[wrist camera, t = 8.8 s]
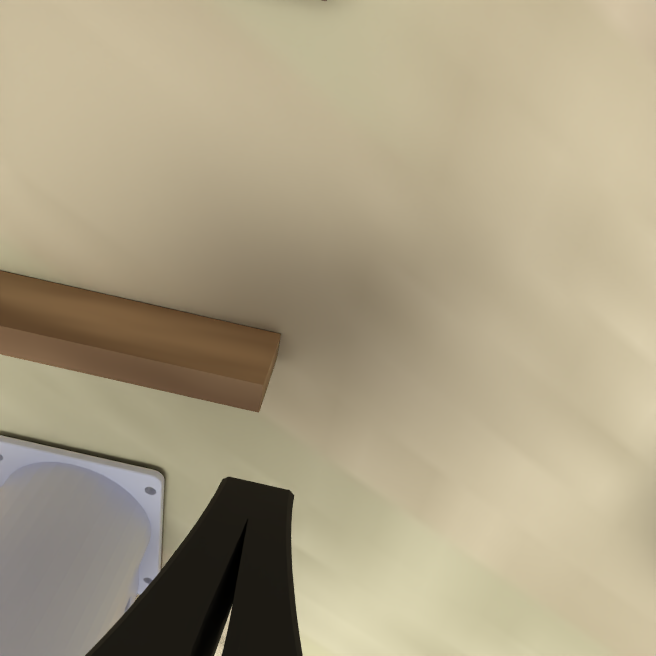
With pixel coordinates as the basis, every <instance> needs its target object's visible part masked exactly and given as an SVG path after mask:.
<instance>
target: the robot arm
mask: <svg viewBox="0 0 656 656" xmlns="http://www.w3.org/2000/svg"><path fill="white" fill-rule="evenodd" d="M293 500H294V495H293V494H292V492H291V491H290V490H286V489H282V488H277V487H273V486H268V485H264V484H259V483H255V482H251V481H246V480H242V479H237V478H233V477H227V478H224V479H223V480H222V481H221V483H220V485H219V487H218V489H217V491H216V493H215V494H214V496H213V498H212V499H211V501H210V503H209V504H208V506H207V508H206V509H205V511H204V512H203V514H202V515H201V517H200V518H199V520H198V521H197V523H196V524H195V525H194V527H193V528H192V530H191V531H190V533H189V534H188V535H187V537H186V538H185V539H184V541H183V542H182V543H181V545H180V546H179V547H178V549H177V550H176V551H175V553H174V554H173V555H172V557H171V558H170V559H169V561H168V562H167V563H166V564H165V566H164V567H163V568H162V570H161V548H162V524H163V501H164V477H163V475H162V474H161V473H160V472H158V471H156V470H153V469H148V468H144V467H139V466H135V465H130V464H126V463H122V462H117V461H113V460H108V459H104V458H99V457H95V456H90V455H86V454H82V453H77V452H73V451H68V450H64V449H59V448H55V447H51V446H46V445H42V444H37V443H33V442H28V441H24V440H19V439H15V438H11V437H6V436H2V435H0V656H214V654H215V652H216V649H217V646H218V643H219V641H220V638H221V635H222V632H223V629H224V627H225V624H226V621H227V618H228V615H229V613H230V610H231V607H232V611H231V616H230V622H229V627H228V631H227V636H226V640H225V644H224V649H223V653H222V656H303V655H302V649H301V642H300V636H299V629H298V622H297V614H296V605H295V595H294V584H293V573H292V554H291V520H292V507H293ZM137 594H139V595H140V596H139V597H138V598H137V599H136V601H135V598H136V596H137ZM134 601H135V602H134ZM232 604H233V605H232Z"/></svg>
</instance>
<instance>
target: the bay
mask: <svg viewBox="0 0 656 656" xmlns="http://www.w3.org/2000/svg"><path fill="white" fill-rule="evenodd" d="M323 1H327V0H323ZM280 336H281V334H278V333H274V332H270V331H265V330H261V329H256V328H252V327H247V326H243V325H239V324H234V323H230V322H225V321H221V320H216V319H212V318H208V317H203V316H199V315H194V314H190V313H185V312H181V311H177V310H172V309H168V308H163V307H159V306H154V305H150V304H146V303H141V302H137V301H132V300H128V299H123V298H119V297H115V296H110V295H106V294H101V293H97V292H92V291H88V290H84V289H79V288H75V287H70V286H66V285H61V284H57V283H53V282H48V281H44V280H39V279H35V278H30V277H26V276H22V275H17V274H13V273H8V272H4V271H0V354H2V355H6V356H11V357H15V358H20V359H24V360H29V361H33V362H37V363H42V364H46V365H51V366H55V367H60V368H64V369H68V370H73V371H77V372H82V373H86V374H91V375H95V376H100V377H104V378H108V379H113V380H117V381H122V382H126V383H131V384H135V385H139V386H144V387H148V388H153V389H157V390H162V391H166V392H170V393H175V394H179V395H184V396H188V397H193V398H197V399H201V400H206V401H210V402H215V403H219V404H224V405H228V406H233V407H237V408H241V409H246V410H250V411H255V412H259V411H260V408H261V405H262V402H263V399H264V396H265V393H266V390H267V387H268V384H269V381H270V378H271V375H272V372H273V369H274V366H275V363H276V359H277V354H278V348H279V342H280Z"/></svg>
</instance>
